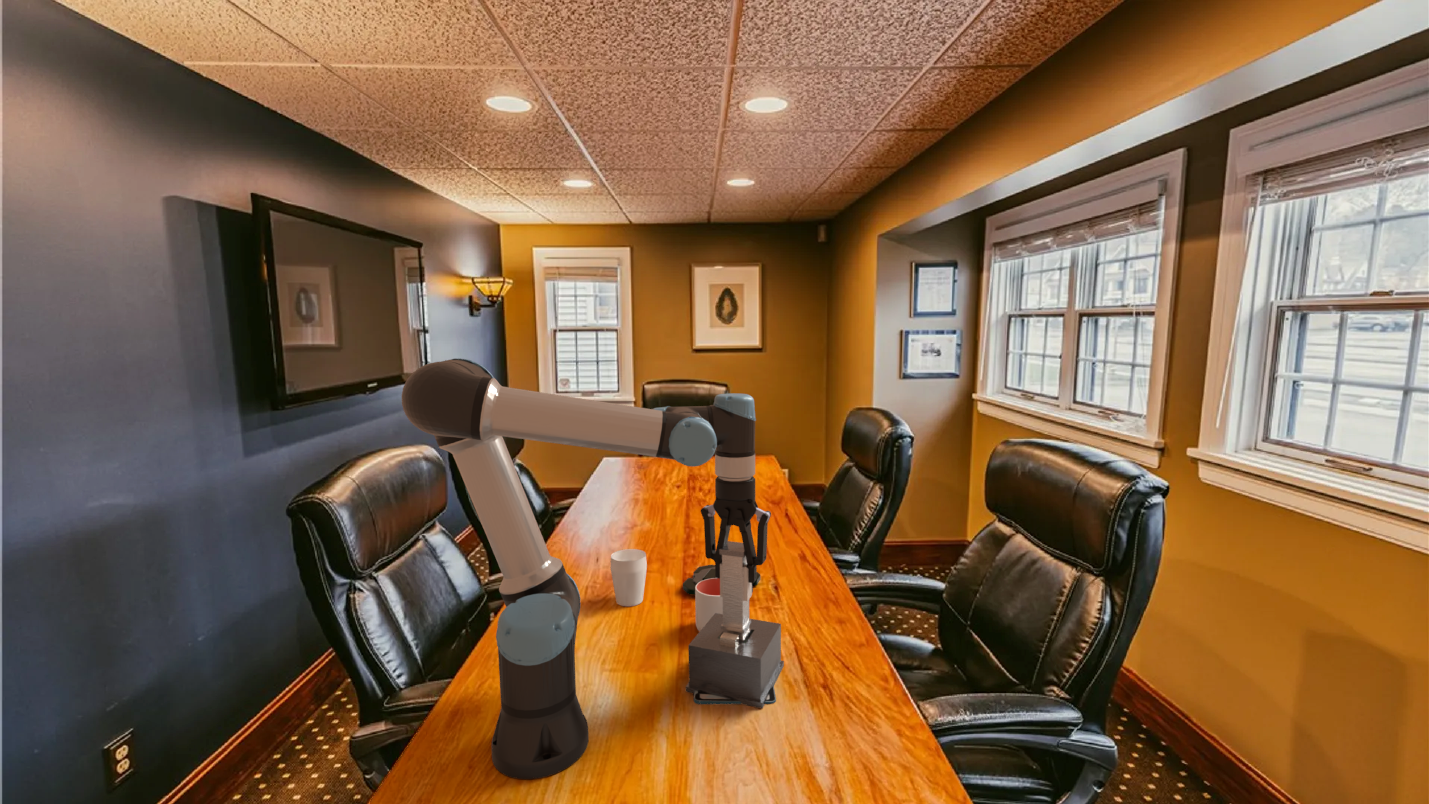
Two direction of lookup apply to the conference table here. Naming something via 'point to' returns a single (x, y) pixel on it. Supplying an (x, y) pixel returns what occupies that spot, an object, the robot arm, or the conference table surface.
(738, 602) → the column
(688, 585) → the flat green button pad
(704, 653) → the housing
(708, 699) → the smartphone
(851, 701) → the conference table surface
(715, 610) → the cup
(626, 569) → the cup
